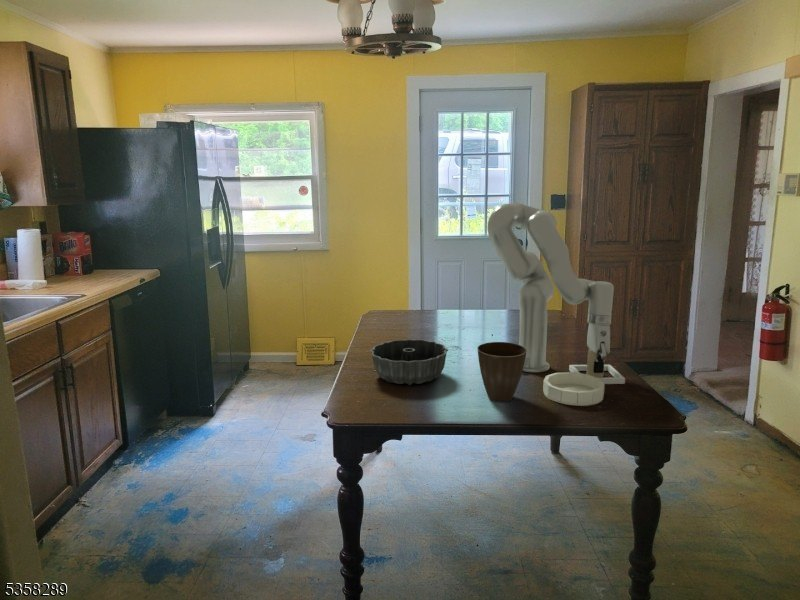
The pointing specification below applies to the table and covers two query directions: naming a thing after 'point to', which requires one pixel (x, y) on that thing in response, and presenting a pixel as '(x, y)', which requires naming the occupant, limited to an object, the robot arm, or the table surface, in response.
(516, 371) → the plant pot
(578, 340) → the table surface
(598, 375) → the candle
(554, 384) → the bowl
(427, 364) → the bundt pan
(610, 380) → the white square frame
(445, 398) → the table surface
